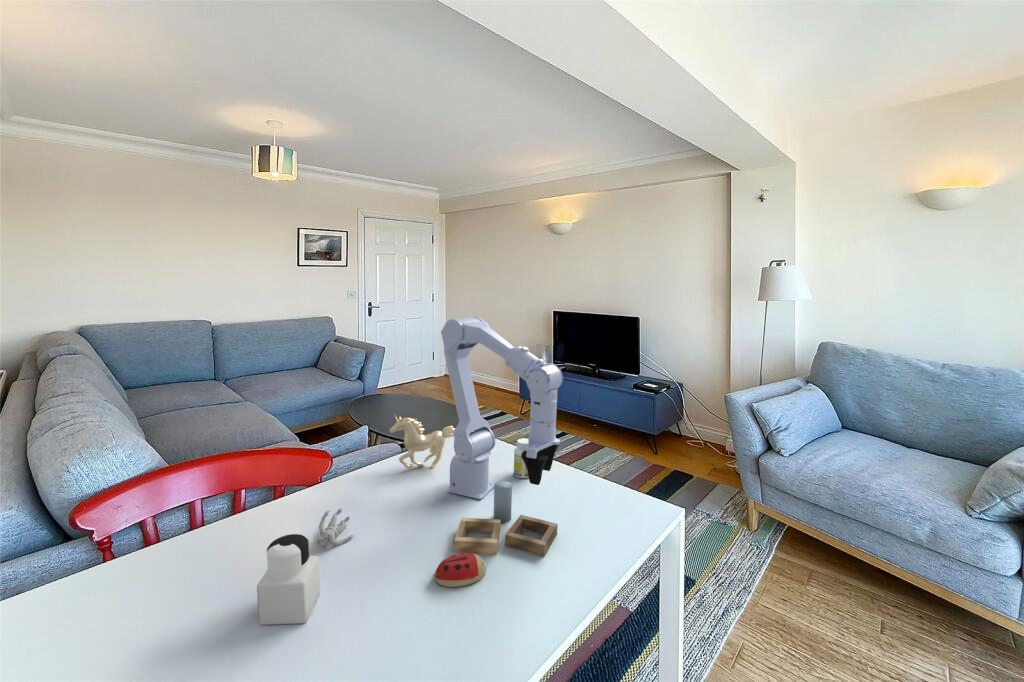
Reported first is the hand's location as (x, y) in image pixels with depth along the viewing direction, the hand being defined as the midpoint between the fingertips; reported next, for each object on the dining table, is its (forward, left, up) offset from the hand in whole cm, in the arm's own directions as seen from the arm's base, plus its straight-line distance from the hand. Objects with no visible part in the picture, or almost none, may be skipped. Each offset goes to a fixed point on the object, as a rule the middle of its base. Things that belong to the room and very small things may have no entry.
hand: (540, 476), depth 103 cm
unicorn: (-38, +11, -10) cm, 41 cm away
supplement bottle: (-11, +19, -10) cm, 24 cm away
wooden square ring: (+2, -9, -10) cm, 14 cm away
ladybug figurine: (-6, -25, -10) cm, 28 cm away
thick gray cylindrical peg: (-7, -4, -10) cm, 13 cm away
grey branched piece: (-36, -26, -10) cm, 45 cm away
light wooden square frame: (-8, -14, -10) cm, 19 cm away
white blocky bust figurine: (-27, -44, -10) cm, 53 cm away
